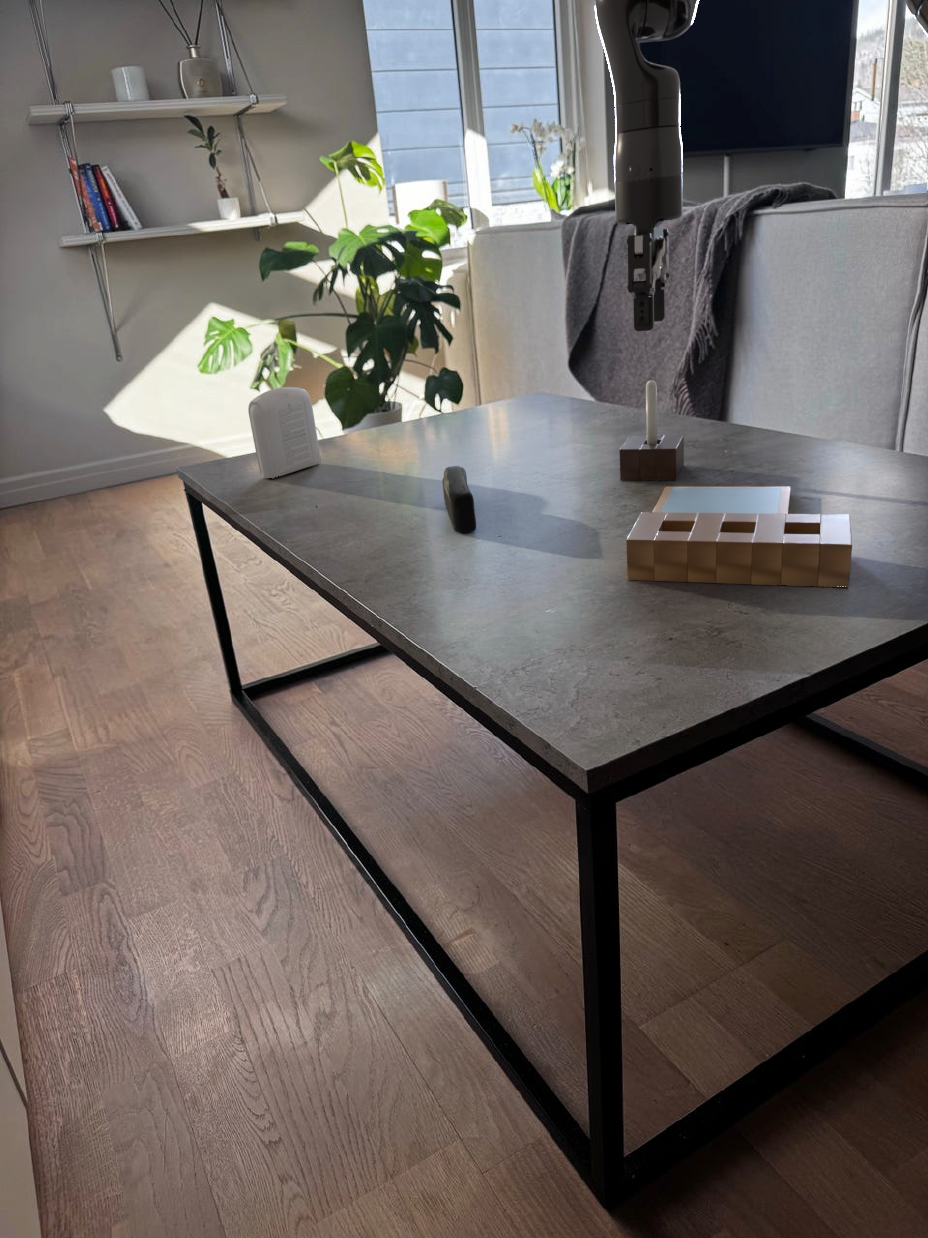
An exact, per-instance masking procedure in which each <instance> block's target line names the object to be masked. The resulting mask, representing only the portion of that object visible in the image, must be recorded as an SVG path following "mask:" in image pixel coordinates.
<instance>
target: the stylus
mask: <svg viewBox="0 0 928 1238" xmlns="http://www.w3.org/2000/svg"><path fill="white" fill-rule="evenodd" d="M657 387H658V386H657V382H656V381H655V380H651V379H650V380H648V381H647V382H646V384H645V411H646V412H645V413H646V414H645V415H646V416H645V417H646V436H647V444H657V435H658V396H657V395H658V392H657V390H658V388H657Z"/></svg>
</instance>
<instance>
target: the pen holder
mask: <svg viewBox="0 0 928 1238" xmlns="http://www.w3.org/2000/svg"><path fill="white" fill-rule="evenodd" d="M625 542H626V572H627V573H626V577H627V581H648V582H649V581H650V582H651V581H652V582H676V583H703V584H704V583H705V584H726V585H727V584H729V585H754V586H755V585H756V586H777V585H780V586H781V585H787V586H786V587H804V586H815V587H814V588H817V587H818V586H819V587H818V588H832V587H837V586H839V587H840V586H841V587H842V586H844V587H845V586H846V587H849V588H850V576H851V566H852V565H851V564H852V553H853V537H852V523H851V514H836V513H835V514H834V513H831V514H827V513H826V514H824V513H823V514H820V513H788V514H758V513H667V512H653V511H650V512H649V511H642V512H640V514H639V516H638V518H637V520H636V521H635V523H634V525H633V527H632V529H631V531H630V533H629V534H628V536H627V537H626V540H625ZM816 586H817V587H816ZM821 586H822V587H821ZM823 586H824V587H823ZM827 586H828V587H827Z"/></svg>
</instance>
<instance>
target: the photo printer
mask: <svg viewBox="0 0 928 1238" xmlns="http://www.w3.org/2000/svg"><path fill="white" fill-rule="evenodd" d="M247 411H248V412H247V413H248V418H249V423H250V428H251V435H252V439H253V444H254V449H255V453H256V454H255V455H256V461H257V464H258V469H259V474H260V475H261V476H262V478H263V479H269V478H272V479H276V478H279V477H282V476H285V475H288V474H291V473H294V472H297V471H300V470H303V469H307V468H311V467H313V466H316V465H319V464H320V463H322V458H321V452H320V446H319V439H318V433H317V427H316V421H315V415H314V414H315V413H314V408H313V403H312V399H311V396H310V394H309V393H308V391H307V390H306V389H304V388H301V387H296V386H295V387H294V386H281V387H275V388H271V389H269V390H267V391H264V392H262V393H261V394H259V395H257V396H256V397H254V398H253V399H252V400H250V402H249V403H248V410H247ZM278 476H279V477H278ZM275 477H276V478H275Z"/></svg>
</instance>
